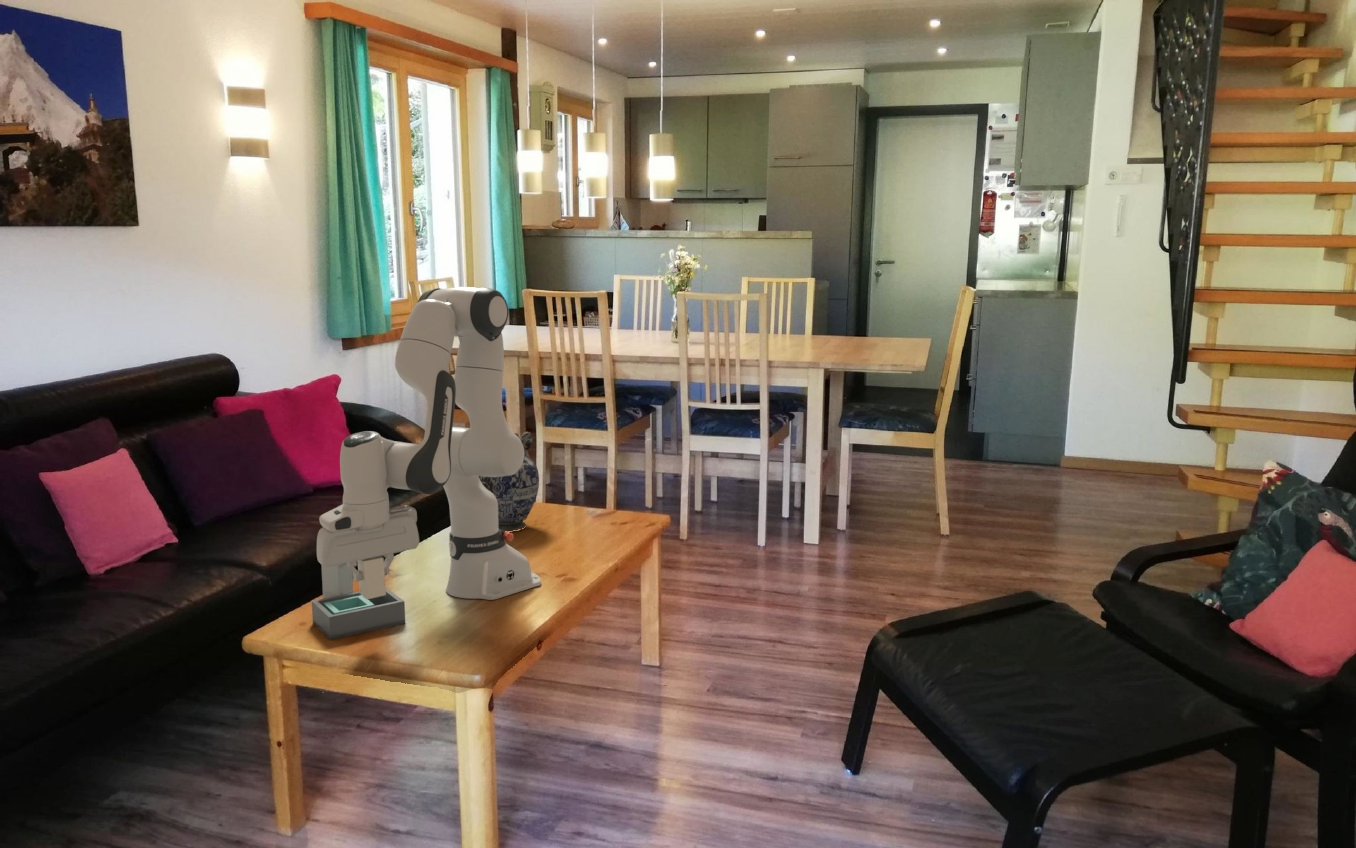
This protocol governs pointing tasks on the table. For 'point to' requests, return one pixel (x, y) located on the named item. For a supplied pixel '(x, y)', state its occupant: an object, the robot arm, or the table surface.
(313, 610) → the organiser box
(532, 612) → the table surface
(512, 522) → the decorative vase
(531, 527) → the table surface
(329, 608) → the inlet socket
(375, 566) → the plug
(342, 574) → the skincare box
